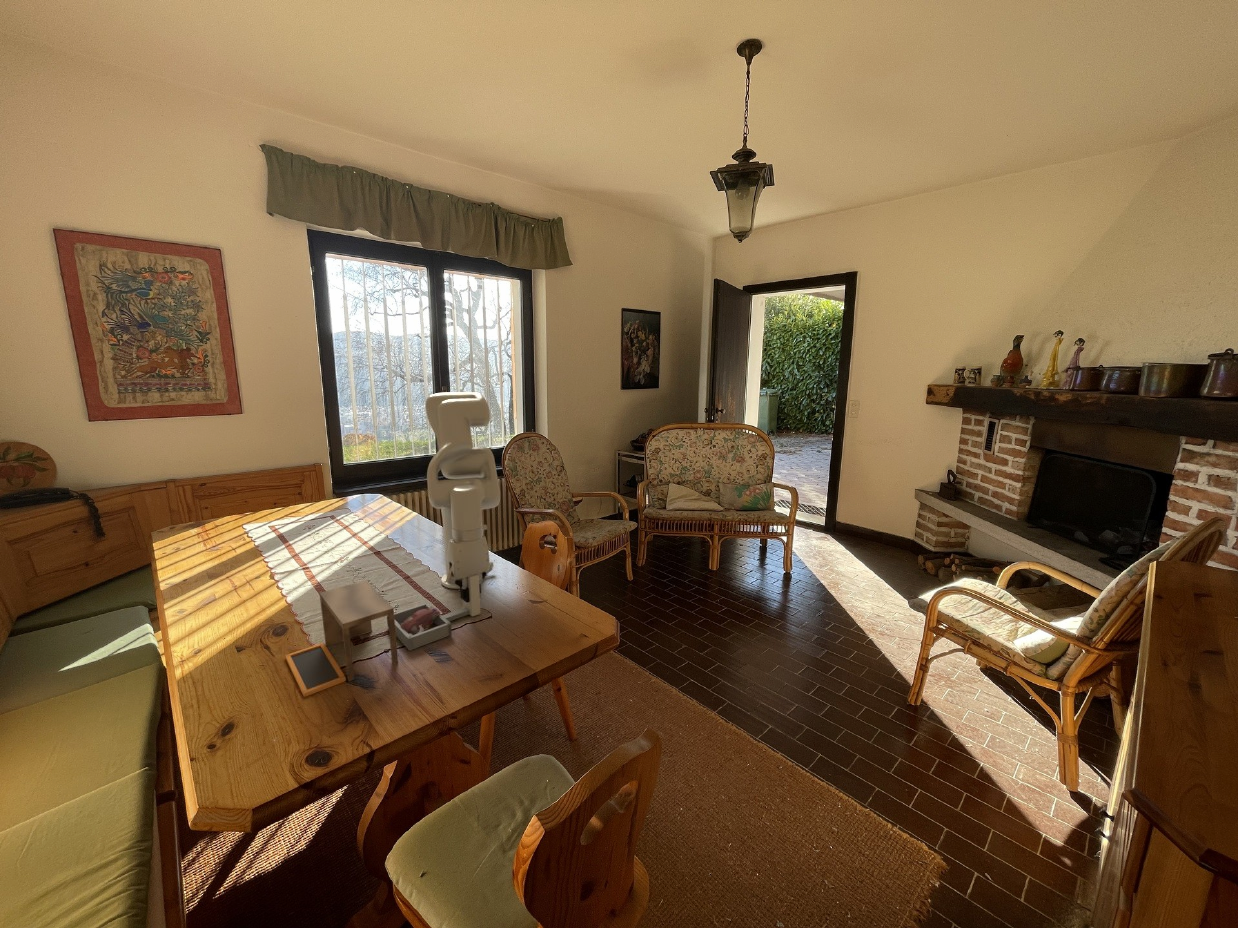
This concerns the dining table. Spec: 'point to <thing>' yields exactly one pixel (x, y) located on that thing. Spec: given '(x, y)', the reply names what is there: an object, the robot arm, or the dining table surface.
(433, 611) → the video game controller
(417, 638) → the grey drawer with handle
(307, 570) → the dining table surface
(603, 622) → the dining table surface
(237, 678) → the dining table surface
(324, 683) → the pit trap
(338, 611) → the brown wooden stand
